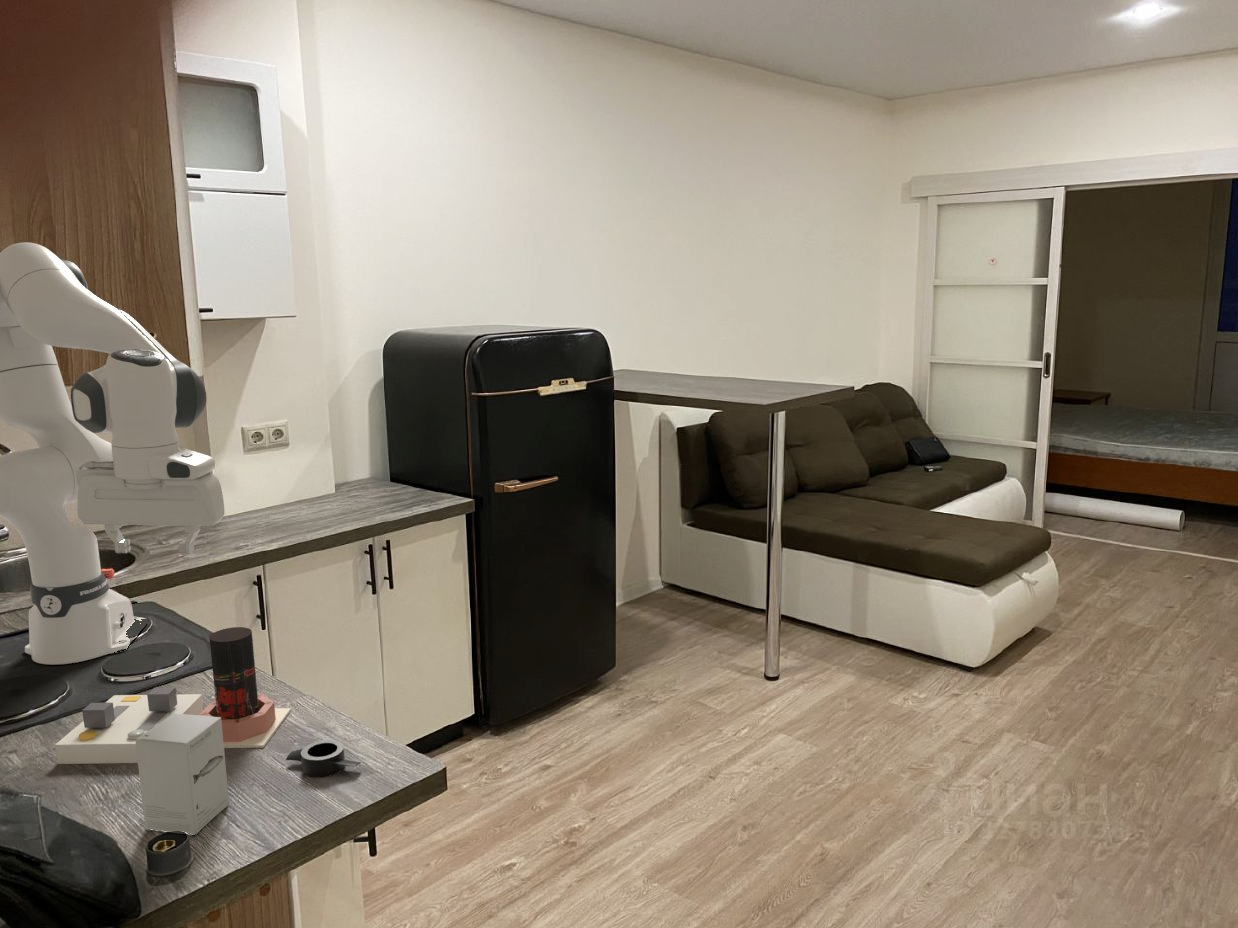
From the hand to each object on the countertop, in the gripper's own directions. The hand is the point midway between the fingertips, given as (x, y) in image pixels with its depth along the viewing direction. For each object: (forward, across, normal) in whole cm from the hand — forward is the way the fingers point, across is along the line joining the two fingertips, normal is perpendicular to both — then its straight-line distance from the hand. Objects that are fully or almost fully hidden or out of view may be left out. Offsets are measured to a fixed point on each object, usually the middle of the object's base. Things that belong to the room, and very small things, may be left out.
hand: (155, 552), depth 138 cm
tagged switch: (+25, -7, -6) cm, 26 cm away
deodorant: (+28, +11, -2) cm, 30 cm away
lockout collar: (+28, +11, -2) cm, 30 cm away
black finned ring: (+28, +28, -14) cm, 41 cm away
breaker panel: (+28, -4, -4) cm, 29 cm away
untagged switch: (+25, 0, -1) cm, 25 cm away
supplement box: (+28, +14, -26) cm, 40 cm away
